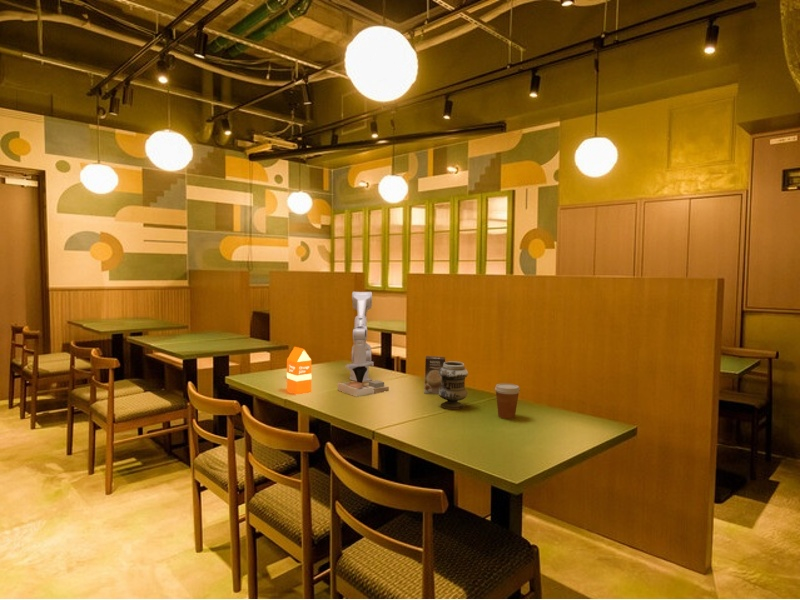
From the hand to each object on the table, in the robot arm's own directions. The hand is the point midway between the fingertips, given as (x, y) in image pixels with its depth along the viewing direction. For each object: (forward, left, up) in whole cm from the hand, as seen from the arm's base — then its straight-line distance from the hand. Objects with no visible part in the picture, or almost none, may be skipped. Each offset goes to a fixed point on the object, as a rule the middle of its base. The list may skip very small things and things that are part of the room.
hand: (359, 383), depth 238 cm
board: (+4, +4, -3) cm, 6 cm away
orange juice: (-12, -25, -3) cm, 28 cm away
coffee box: (+26, +23, -3) cm, 35 cm away
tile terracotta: (0, -3, -2) cm, 4 cm away
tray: (+4, -5, -3) cm, 6 cm away
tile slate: (+7, +4, -1) cm, 8 cm away
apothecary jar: (+47, +13, -3) cm, 49 cm away
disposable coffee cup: (+70, +19, -3) cm, 72 cm away
